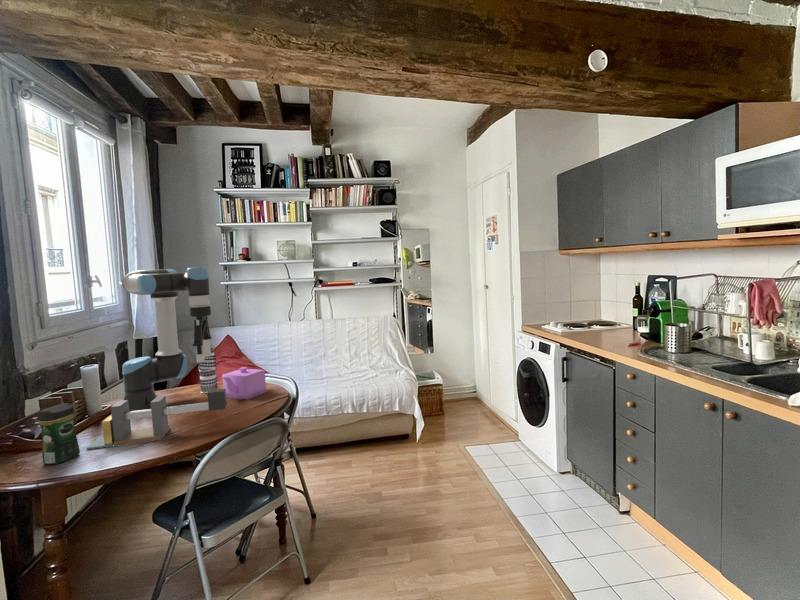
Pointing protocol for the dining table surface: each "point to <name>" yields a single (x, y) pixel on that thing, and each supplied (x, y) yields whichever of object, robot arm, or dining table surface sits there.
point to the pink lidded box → (244, 383)
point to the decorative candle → (208, 373)
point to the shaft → (186, 406)
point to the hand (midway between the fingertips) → (204, 358)
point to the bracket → (129, 436)
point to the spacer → (108, 430)
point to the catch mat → (99, 443)
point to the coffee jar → (58, 433)
